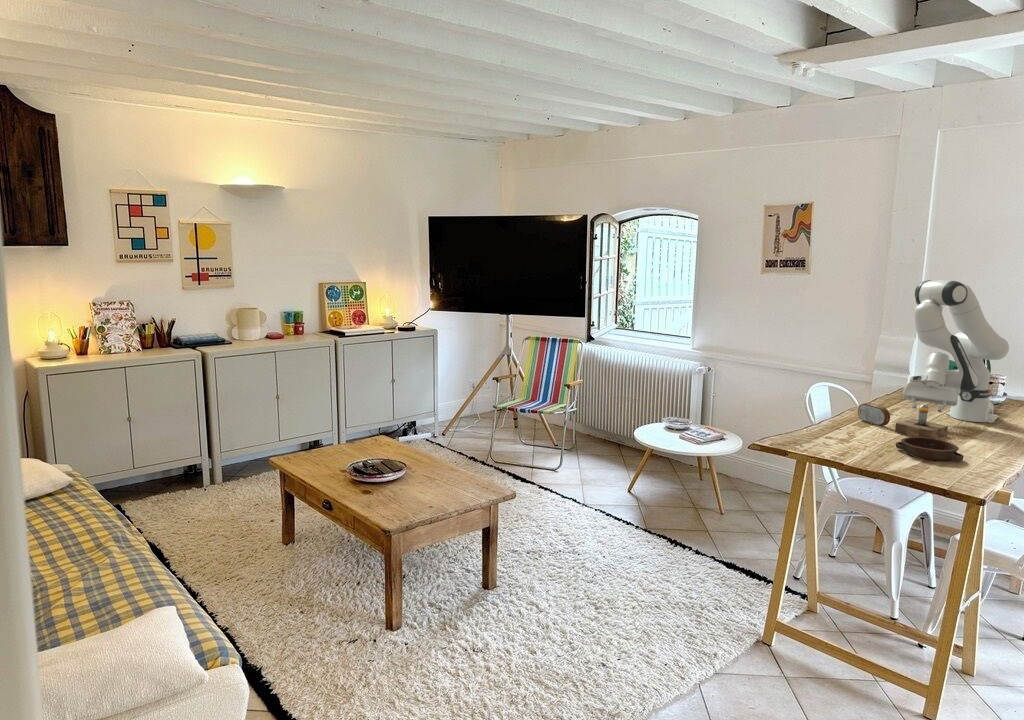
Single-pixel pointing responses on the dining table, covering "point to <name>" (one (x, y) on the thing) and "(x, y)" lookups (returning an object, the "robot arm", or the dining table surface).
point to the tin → (874, 414)
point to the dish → (930, 448)
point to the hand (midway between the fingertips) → (927, 409)
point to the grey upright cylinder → (922, 415)
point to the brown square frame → (921, 429)
